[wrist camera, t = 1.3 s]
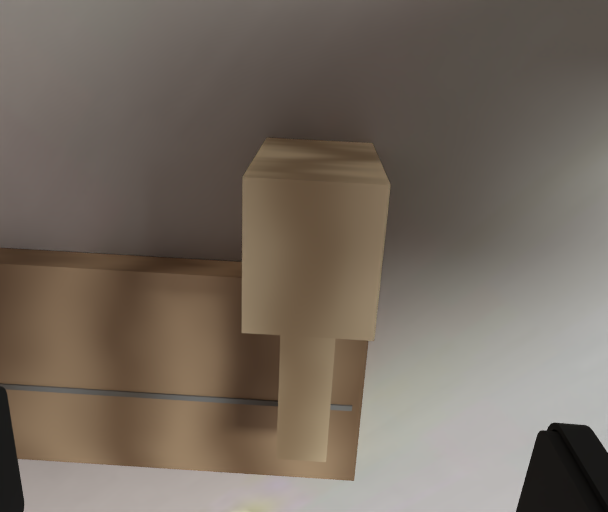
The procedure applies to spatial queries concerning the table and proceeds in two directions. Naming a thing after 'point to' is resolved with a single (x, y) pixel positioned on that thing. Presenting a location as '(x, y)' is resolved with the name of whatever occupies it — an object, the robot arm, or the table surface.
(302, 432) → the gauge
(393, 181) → the table surface
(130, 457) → the board
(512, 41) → the table surface
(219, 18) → the table surface
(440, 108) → the table surface
